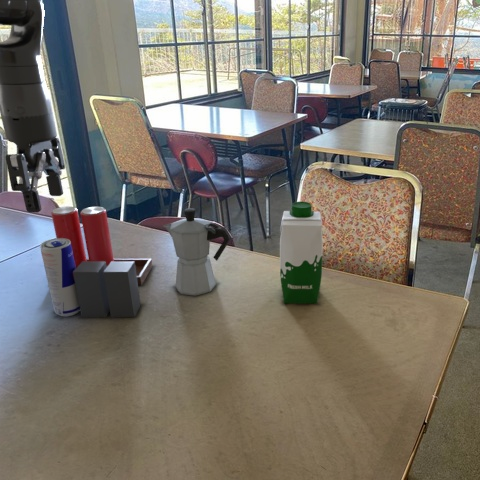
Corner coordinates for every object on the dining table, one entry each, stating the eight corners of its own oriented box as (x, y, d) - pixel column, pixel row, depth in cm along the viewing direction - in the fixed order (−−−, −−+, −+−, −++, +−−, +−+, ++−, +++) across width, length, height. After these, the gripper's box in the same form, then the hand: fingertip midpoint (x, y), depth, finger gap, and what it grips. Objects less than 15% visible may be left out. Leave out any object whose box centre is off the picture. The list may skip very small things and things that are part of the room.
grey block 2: (110, 317, 94) (103, 271, 90) (118, 305, 98) (111, 261, 94) (134, 317, 94) (127, 271, 90) (140, 305, 98) (134, 261, 94)
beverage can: (88, 311, 96) (75, 242, 89) (61, 321, 92) (46, 250, 86) (76, 301, 99) (63, 234, 93) (50, 311, 95) (35, 242, 89)
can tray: (51, 285, 104) (49, 277, 103) (69, 266, 113) (67, 258, 112) (141, 285, 105) (140, 277, 105) (152, 266, 114) (151, 258, 113)
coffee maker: (159, 292, 103) (150, 213, 96) (177, 273, 111) (170, 199, 104) (225, 300, 101) (221, 220, 94) (239, 280, 109) (236, 206, 101)
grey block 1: (81, 317, 93) (72, 271, 89) (90, 305, 98) (82, 261, 94) (105, 317, 94) (97, 272, 90) (113, 305, 98) (105, 261, 94)
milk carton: (320, 285, 108) (323, 201, 100) (321, 306, 100) (324, 216, 92) (281, 284, 108) (280, 200, 99) (279, 306, 99) (278, 216, 91)
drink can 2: (88, 278, 106) (76, 214, 100) (96, 268, 111) (85, 206, 105) (111, 278, 107) (100, 214, 101) (118, 268, 111) (108, 206, 105)
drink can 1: (60, 278, 106) (46, 213, 100) (69, 268, 111) (57, 205, 104) (83, 278, 106) (71, 214, 100) (92, 268, 111) (80, 206, 105)
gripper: (25, 104, 86) (43, 190, 92) (-23, 117, 73) (2, 217, 79) (68, 105, 86) (83, 191, 93) (28, 118, 73) (49, 218, 80)
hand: (46, 203), depth 86 cm, fingers open, 8 cm apart
